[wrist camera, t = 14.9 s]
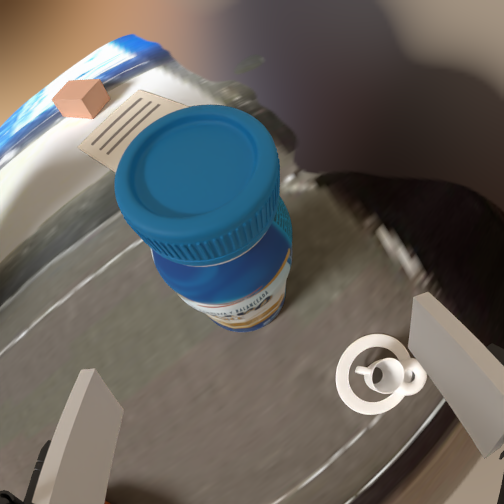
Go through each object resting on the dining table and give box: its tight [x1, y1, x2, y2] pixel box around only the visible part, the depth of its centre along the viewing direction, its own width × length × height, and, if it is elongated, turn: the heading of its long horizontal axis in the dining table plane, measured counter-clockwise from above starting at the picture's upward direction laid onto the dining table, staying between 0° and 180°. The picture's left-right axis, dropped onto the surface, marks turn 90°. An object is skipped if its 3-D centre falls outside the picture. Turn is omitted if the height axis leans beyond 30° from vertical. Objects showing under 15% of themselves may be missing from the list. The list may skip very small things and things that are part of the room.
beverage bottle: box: [115, 105, 292, 332], centre depth 20 cm, size 8×8×20 cm
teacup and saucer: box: [336, 334, 427, 415], centre depth 24 cm, size 9×8×4 cm
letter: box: [78, 90, 188, 173], centre depth 38 cm, size 14×20×1 cm
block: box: [52, 79, 110, 119], centre depth 41 cm, size 5×5×9 cm
